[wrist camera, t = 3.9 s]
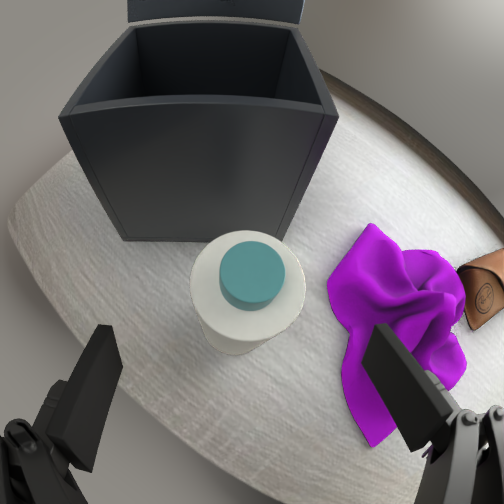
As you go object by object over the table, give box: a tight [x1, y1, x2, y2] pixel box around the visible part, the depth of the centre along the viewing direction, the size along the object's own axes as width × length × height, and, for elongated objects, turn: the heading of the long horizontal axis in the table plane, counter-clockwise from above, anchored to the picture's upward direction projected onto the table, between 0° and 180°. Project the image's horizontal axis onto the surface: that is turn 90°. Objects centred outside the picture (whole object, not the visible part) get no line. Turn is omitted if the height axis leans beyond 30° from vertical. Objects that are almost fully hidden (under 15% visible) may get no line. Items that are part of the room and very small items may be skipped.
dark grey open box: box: [58, 20, 339, 242], centre depth 21 cm, size 14×15×15 cm
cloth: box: [327, 223, 467, 447], centre depth 21 cm, size 22×19×6 cm
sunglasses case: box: [456, 248, 504, 331], centre depth 26 cm, size 18×7×7 cm
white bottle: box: [190, 230, 306, 355], centre depth 17 cm, size 5×5×12 cm
